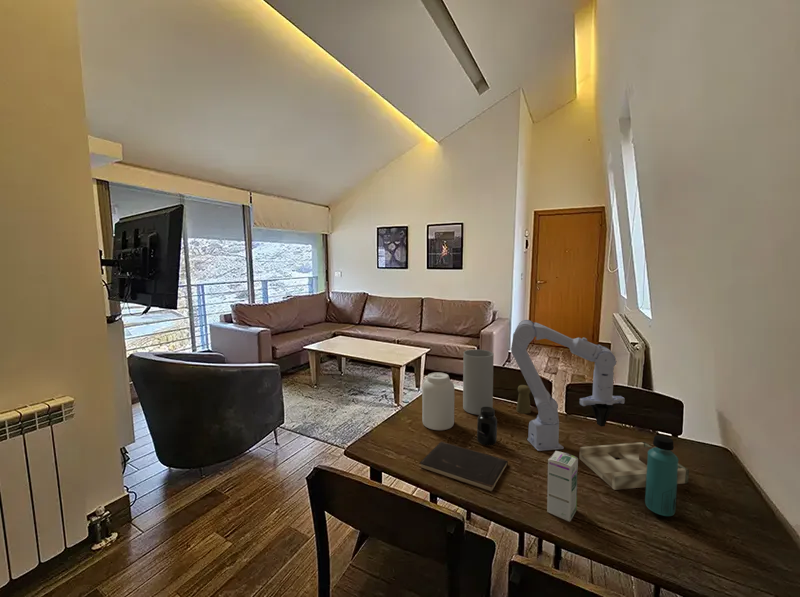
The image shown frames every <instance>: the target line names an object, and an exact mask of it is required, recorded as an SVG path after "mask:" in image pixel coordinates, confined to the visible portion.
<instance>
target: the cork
mask: <svg viewBox="0 0 800 597" xmlns="http://www.w3.org/2000/svg"><path fill="white" fill-rule="evenodd" d="M517 392H518V397H517V402H516V407H515V408H516V409H515V410H516V412H517V413H520V414H525V415H527V414H531V412H532V408H531V401H530V400H531V399H530V398H531V397H530V394H531V393H532V392H531V390H530V388H529V386H528V384H527V385H526V384H520V385H518V387H517Z"/></svg>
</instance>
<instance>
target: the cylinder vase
mask: <svg viewBox="0 0 800 597" xmlns="http://www.w3.org/2000/svg"><path fill="white" fill-rule="evenodd" d="M494 356H495V355H494V352H492V351H490V350H486V349H467V350H464V351H463V357H462V358H463V361H462V362H463V363H462V364H463V367H462V368H463V369H462V370H463V371H462V372H463V375H462V376H463V377H462V381H463V383H462V387H463V388H462V408H463V410H464V411H465V412H466V413H468V414H472V415H477V416H479V415H480V412H481V408H482V407H491V408H493V409H494V407H493V405H494V404H493V403H494V399H493V398H494V397H493V396H494Z"/></svg>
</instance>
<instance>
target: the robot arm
mask: <svg viewBox="0 0 800 597" xmlns="http://www.w3.org/2000/svg"><path fill="white" fill-rule="evenodd" d="M535 337H536V338H535ZM534 338H535V340H536V341H540V340H544V339H545V340H548V341H551V342H554V343H556V344H558V345H561V346H564V347H567V348H568V349H569V351H570V353H571V354H572V355H576V356H577V357H579V358H582V359H584V360H586V361H589V362H593V363H594V369H593V376H592V377H593V379H592V395H589V396H586V397H580V398H579V405H580V406H582V407H586V406H590V407H591V409H592V411H593V413H594V417H595V420H596V424H597V425H598V426H599V427H605V426H606V423H607V421H608V419H609V417H610V414H612V412H613V411H614V410H615V406H613V405H614V404H622V405H623V404H625V401H626V400H625V397H623V396H622V395H613V394H614V375H615V373H614V370H615V369H614V368H615V366H616V365H617V360H616V356H615V355H614V353H613V351H612V350H611V349H610V348H608V347H607V346H603V345H601V344H595V343H593V342H590V341H588V338H586V337H582V338H581V337H576V338H575V337H574V338H572V337H570V336H568V335H565V334H563V333H561V332H559V331H557V330H554V329H552V328H550V327H548V326H545V325H544V324H541V323H539V322H536V321H535V322H533V321H532V320H529V319H524V320H520V322H519V323H518V325H517V326H516V328H515V330H514V333H513V334H512V342H511V349H510V352H511V353H512V354H511V355H512V356H513V358H514V360H515V361H516V362H515V363H516V364H517V366H518V368H519V370H520V372H521V374H522V376H523V377H524V380H525V381H526V384H527V386H529V388H530V390H531V392H530V393H531V394H532V396H533V398H534V402H535V406H536V407H537V408H536V409H537V411H538V414H537V415H536V418H534V419H531V420H529V423H528V434H527V435H528V437H527V439H526V440H527V441H528V442H529V443H530V444H531V445H532V447H534V449H536V450H537V452H538V451H539V452H541V451H542V452H543V451H554V450H555V451H557V450H564V446H563V445H562V444H560V443H559V440H560V439H559V436H560V435H559V434H560V419H559V412H558V409H559V404H558V402H557V401H556V399H555V398H553V397H552V396H551V394H550V392H549V391H548V390H547V388H546V387H545V385H544V382H543V380H542V378H541V376H540V374H539V372H538V371H537V369H536V367H535V364H534V362H533V361H532V358H531V356H530V355H529V353H528V351H527V349H528V346H529V344H530V343H531V342H532V341H533V340H534Z"/></svg>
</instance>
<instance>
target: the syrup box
mask: <svg viewBox="0 0 800 597" xmlns="http://www.w3.org/2000/svg"><path fill="white" fill-rule="evenodd" d="M578 465H579V458H578V457H577V456H575V455H572V454H570V453H568V452H562V451H559V450H555V451H554V452H553V454H552V455H551V456H550V457H549V458H548V459H547V491H546V492H547V495H546V497H547V498H546V502H547V503H546V511H547V513H549V514H551V515H553V516H555V517H557V518H560V519H562V520H564V521H566V522H568V523H570V522H571V521H572V520H573V518H574V517H575V516H574V515H575V514H576V512H577V510H578V507H577V506H578V480H579V479H578V472H579V471H578V470H579V469H578V468H579V466H578Z"/></svg>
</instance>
